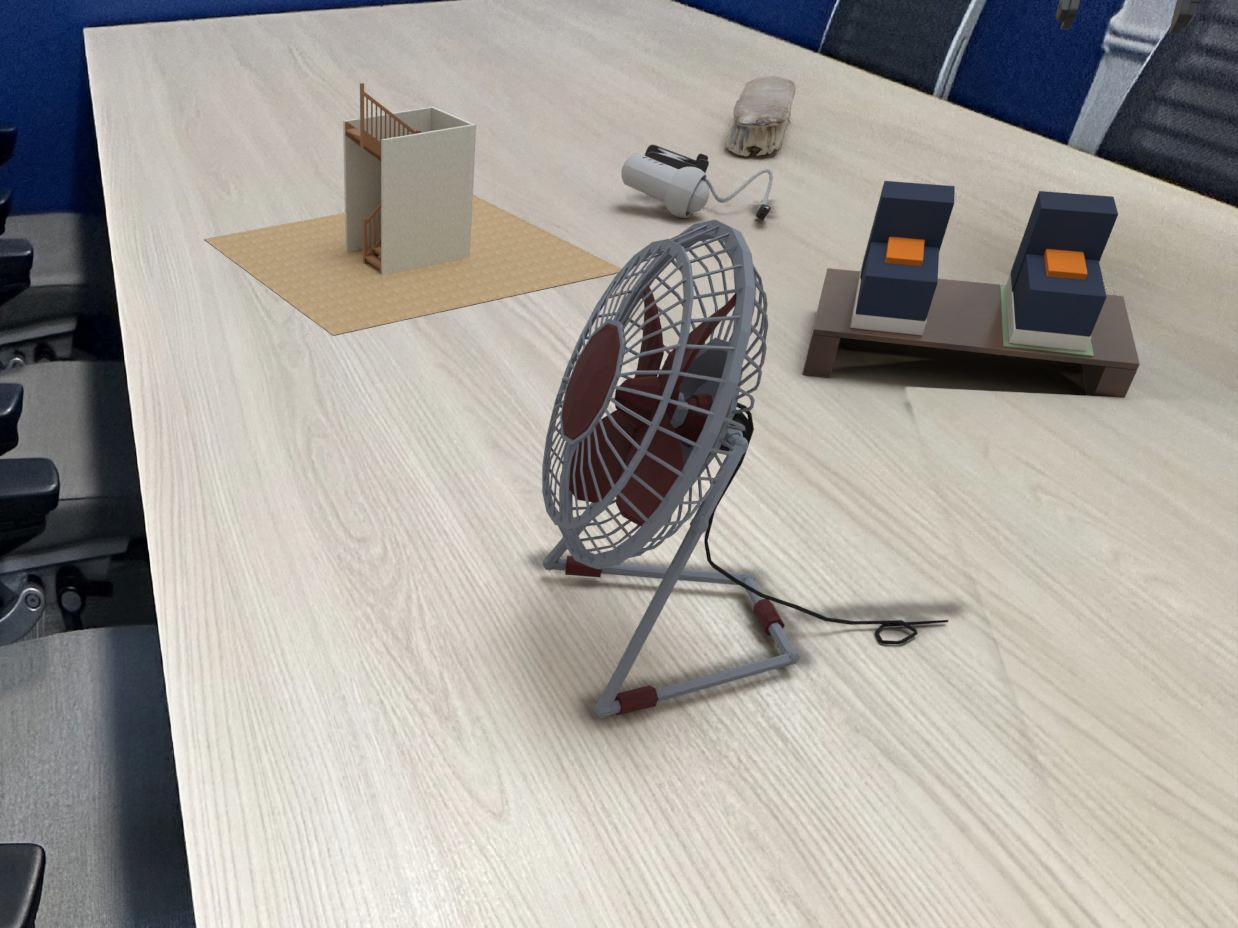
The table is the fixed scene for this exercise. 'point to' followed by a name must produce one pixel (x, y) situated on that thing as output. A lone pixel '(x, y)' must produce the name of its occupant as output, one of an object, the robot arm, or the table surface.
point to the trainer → (1060, 271)
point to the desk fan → (662, 442)
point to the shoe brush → (761, 115)
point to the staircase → (406, 232)
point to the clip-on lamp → (679, 180)
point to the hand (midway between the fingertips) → (1122, 25)
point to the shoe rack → (976, 331)
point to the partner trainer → (902, 258)
